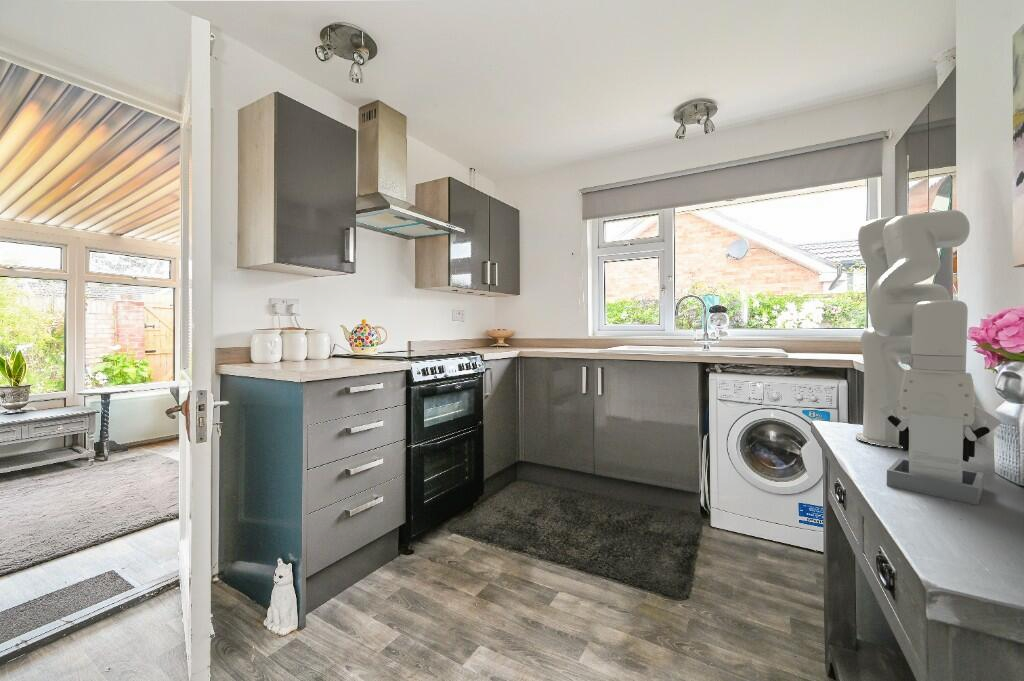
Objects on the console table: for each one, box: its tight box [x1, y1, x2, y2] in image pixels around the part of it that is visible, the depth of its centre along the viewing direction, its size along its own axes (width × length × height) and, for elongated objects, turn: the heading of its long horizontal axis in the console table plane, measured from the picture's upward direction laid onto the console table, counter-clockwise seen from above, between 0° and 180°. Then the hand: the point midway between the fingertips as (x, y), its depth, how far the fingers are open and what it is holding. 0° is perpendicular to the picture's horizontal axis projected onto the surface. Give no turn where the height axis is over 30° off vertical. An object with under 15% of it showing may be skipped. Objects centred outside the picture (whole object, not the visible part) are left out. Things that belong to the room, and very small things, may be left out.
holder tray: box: [886, 457, 984, 506], centre depth 82 cm, size 12×12×3 cm
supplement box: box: [908, 413, 964, 484], centre depth 82 cm, size 7×7×13 cm
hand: (935, 454), depth 82 cm, fingers closed on supplement box, 7 cm apart
